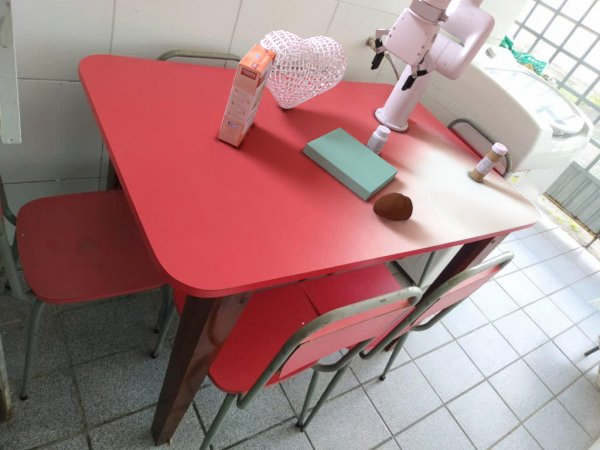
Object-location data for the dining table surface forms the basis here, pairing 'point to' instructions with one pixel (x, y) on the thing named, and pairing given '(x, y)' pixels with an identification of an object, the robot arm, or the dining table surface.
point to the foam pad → (351, 162)
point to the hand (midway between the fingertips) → (388, 79)
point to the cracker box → (246, 94)
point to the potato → (393, 207)
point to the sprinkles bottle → (488, 161)
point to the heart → (304, 44)
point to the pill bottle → (378, 139)
